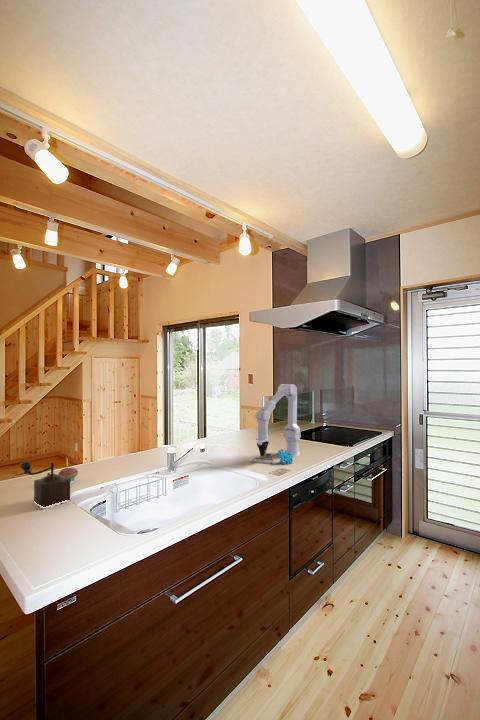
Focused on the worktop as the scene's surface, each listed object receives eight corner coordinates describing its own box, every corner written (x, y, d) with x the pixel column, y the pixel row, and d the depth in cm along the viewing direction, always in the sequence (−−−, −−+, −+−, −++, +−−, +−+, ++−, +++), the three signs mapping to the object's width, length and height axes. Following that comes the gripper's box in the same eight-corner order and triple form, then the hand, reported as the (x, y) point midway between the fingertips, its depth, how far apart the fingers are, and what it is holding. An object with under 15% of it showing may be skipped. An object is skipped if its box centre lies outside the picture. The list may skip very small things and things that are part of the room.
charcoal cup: (263, 456, 209) (263, 453, 209) (273, 457, 207) (273, 453, 207) (261, 458, 203) (261, 455, 203) (271, 459, 201) (271, 456, 201)
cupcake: (55, 483, 163) (55, 458, 164) (73, 478, 170) (73, 454, 170) (62, 487, 158) (62, 461, 158) (81, 482, 164) (81, 457, 164)
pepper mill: (59, 495, 148) (59, 453, 148) (71, 501, 141) (71, 457, 141) (18, 507, 136) (18, 461, 136) (29, 514, 129) (29, 466, 129)
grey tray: (255, 459, 203) (255, 457, 203) (274, 460, 199) (274, 458, 199) (251, 462, 195) (251, 460, 195) (271, 464, 191) (271, 462, 191)
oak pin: (261, 458, 199) (261, 448, 199) (266, 458, 198) (266, 448, 198) (259, 459, 196) (259, 449, 196) (265, 460, 195) (264, 449, 195)
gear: (281, 463, 187) (275, 448, 194) (276, 469, 190) (270, 454, 197) (297, 463, 192) (291, 448, 199) (292, 469, 195) (286, 454, 202)
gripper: (259, 428, 205) (259, 451, 205) (252, 433, 192) (253, 457, 191) (270, 429, 203) (271, 452, 203) (265, 433, 189) (265, 458, 189)
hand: (263, 454), depth 197 cm, fingers closed on oak pin, 3 cm apart
